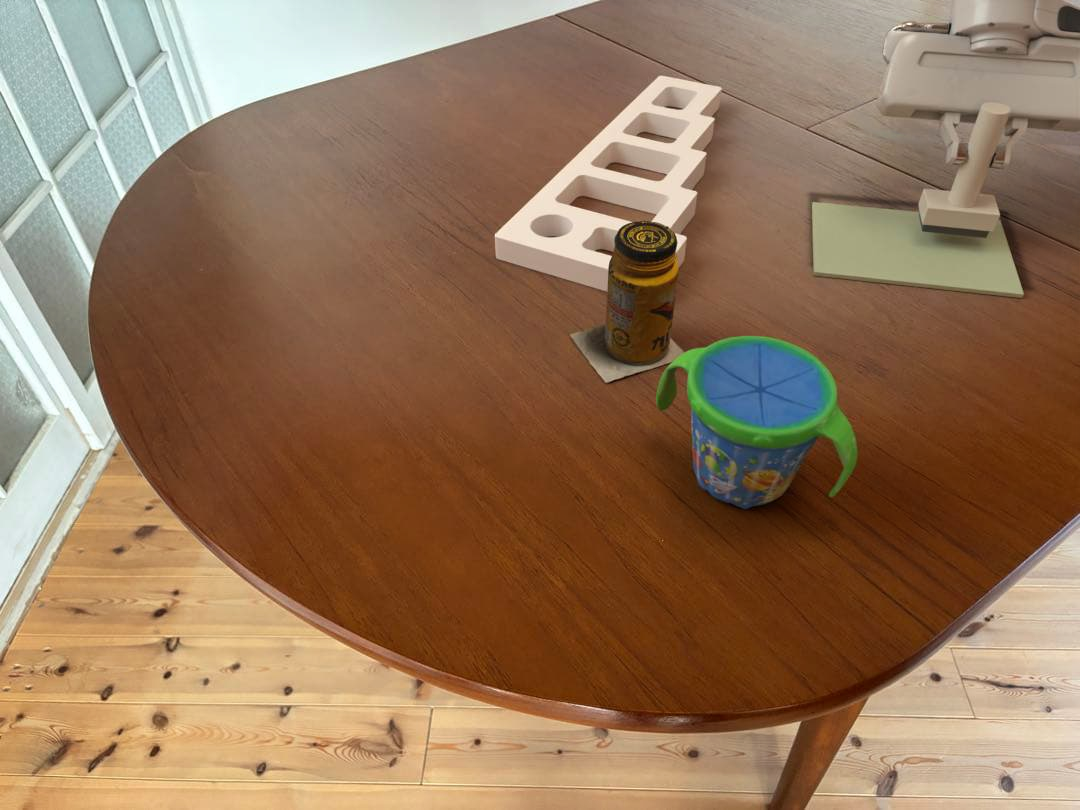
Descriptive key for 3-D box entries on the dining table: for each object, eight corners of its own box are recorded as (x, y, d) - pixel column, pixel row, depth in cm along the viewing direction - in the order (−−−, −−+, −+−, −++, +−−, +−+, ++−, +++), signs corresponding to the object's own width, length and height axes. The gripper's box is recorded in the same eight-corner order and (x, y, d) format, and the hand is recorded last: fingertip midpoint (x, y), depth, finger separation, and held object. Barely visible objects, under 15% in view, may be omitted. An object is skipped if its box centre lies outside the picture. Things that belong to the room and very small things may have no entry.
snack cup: (863, 491, 67) (900, 396, 60) (788, 571, 61) (818, 477, 54) (702, 396, 75) (717, 302, 68) (622, 460, 69) (630, 365, 62)
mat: (998, 223, 94) (1000, 219, 94) (1022, 298, 84) (1024, 294, 84) (811, 205, 97) (812, 201, 97) (813, 275, 88) (814, 271, 87)
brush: (984, 220, 91) (1031, 101, 82) (990, 240, 88) (1040, 120, 79) (915, 213, 92) (954, 95, 83) (919, 233, 89) (960, 113, 80)
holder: (658, 94, 119) (659, 75, 117) (785, 120, 113) (789, 100, 111) (494, 258, 91) (493, 236, 89) (651, 305, 84) (654, 282, 83)
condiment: (687, 357, 79) (703, 246, 70) (605, 384, 76) (611, 272, 68) (647, 313, 83) (657, 204, 75) (569, 337, 81) (571, 227, 73)
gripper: (895, 4, 83) (875, 144, 83) (1122, 19, 80) (1102, 165, 80) (879, 34, 90) (861, 164, 89) (1090, 49, 86) (1071, 184, 86)
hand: (977, 165), depth 85 cm, fingers closed on brush, 2 cm apart
